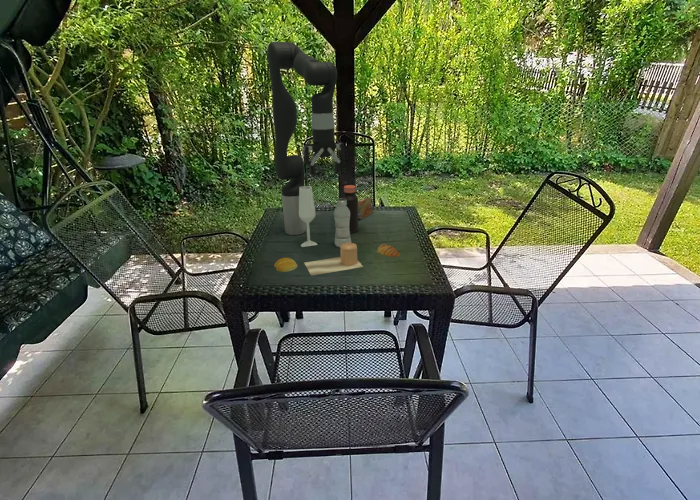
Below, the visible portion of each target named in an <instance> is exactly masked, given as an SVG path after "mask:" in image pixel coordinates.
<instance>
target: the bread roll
mask: <svg viewBox="0 0 700 500" xmlns="http://www.w3.org/2000/svg"><path fill="white" fill-rule="evenodd" d="M273 266H274V267H275V270H276V271H277V272H286V273H287V272H291V271H293V270H295V269H297V268H298V264H297V263H296V261H295V260H294V259H292V258H291V257H282V258H280V259H277V261H276V262H275V263H274V265H273Z"/></svg>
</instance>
